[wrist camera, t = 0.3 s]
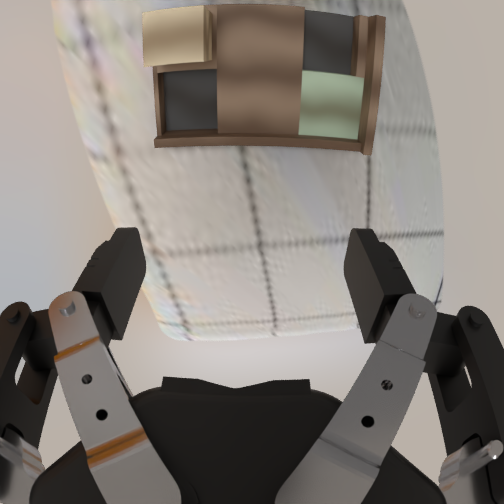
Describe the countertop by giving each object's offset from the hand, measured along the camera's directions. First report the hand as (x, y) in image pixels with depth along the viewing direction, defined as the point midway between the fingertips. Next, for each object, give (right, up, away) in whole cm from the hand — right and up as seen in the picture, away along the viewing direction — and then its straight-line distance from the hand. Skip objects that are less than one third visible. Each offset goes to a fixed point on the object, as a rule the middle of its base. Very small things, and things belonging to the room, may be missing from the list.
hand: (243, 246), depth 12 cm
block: (-7, +22, +15) cm, 28 cm away
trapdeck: (+2, +20, +19) cm, 28 cm away
